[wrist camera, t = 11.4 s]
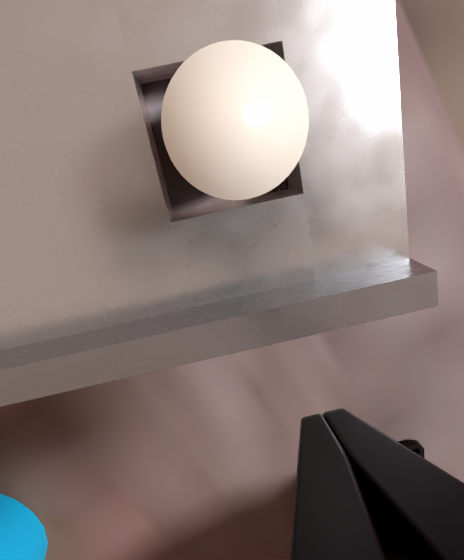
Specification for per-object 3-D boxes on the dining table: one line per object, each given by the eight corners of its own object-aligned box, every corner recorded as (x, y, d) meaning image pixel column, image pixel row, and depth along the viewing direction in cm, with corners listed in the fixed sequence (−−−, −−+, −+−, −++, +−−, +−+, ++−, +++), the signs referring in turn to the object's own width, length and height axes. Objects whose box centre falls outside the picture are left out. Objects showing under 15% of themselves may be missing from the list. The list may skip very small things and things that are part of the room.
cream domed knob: (270, 174, 18) (317, 183, 11) (185, 192, 18) (181, 213, 11) (254, 79, 16) (297, 26, 10) (162, 98, 16) (143, 57, 10)
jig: (384, 273, 20) (438, 305, 15) (-4, 362, 19) (-60, 420, 15) (354, -118, 15) (420, -230, 10) (-175, -15, 14) (-334, -91, 10)
